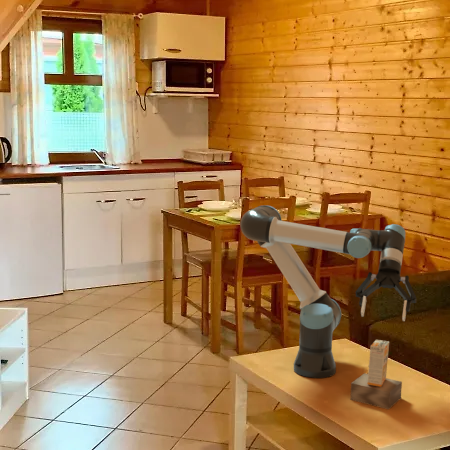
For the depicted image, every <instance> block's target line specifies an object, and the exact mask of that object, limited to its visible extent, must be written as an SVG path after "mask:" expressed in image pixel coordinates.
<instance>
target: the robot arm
mask: <svg viewBox="0 0 450 450" xmlns="http://www.w3.org/2000/svg"><path fill="white" fill-rule="evenodd" d="M281 216H282V215H281V213H280V212H279V211H278V210H277V209H276V208H275V207H274V206H271V205H258V206H257V207H255V208H252V209H250V210H248V211H246V212H245V213H244V214H242V217H241V219H240V225H239V226H240V227H239V228H240V230H241V233H242V234H243V235H244V236H245V237H246V238H247V240H248V239H249V240H251V241H255V242H257V244H258V245H259V247H261V248H263V249H266V250H267V251H268V253H269V255H270V256H271V257H272V260H274V262H275V264H276V266H277V267H278V269H279V270H280V272H281V273H282V275H283V277H284V278H285V279H286V281H287V283H288V285H289V286H290V288H291V289H292V290H293V292H294V294H295V295H296V297H297V299H298V300H299V302H300V304H299V305H300V306H299V309H300V314H299V336H298V337H299V340H298V343H299V345H298V351H297V353H296V356H295V359H294V362H293V372H295V373H296V374H297V375H300V376H302V377H307V378H312V379H313V378H314V379H315V378H316V379H318V378H319V379H322V378H329V377H332V376H334V375H335V374H336V369H337V366H336V361H335V359H334V354H333V350H332V348H333V332H334V330H335V329H336V328H337V327H338V326H339V324H340V322H341V319H342V318H341V317H342V310H341V307H340V304H339V303H337V301H336V300H334V299H332V298H331V297H330V296H329V294H328V293H327V291H326V290H322V289H320V287H319V286H318V284H317V283H316V282H315V279H313V277H312V275H311V273H310V272H309V271H308V269H307V268H306V265H305V264H304V263H303V261H302V260H301V258H300V257H299V255H298V253H297V252H296V250H295V249H294V247H293V246H292V245H297V246H303V247H307V248H312V249H313V248H314V249H318V250H324V251H329V252H336V253H342V254H346V255H350V256H351V257H353V258H356V259H362V258H364V257H366V256H368V255H369V253H371V251H374V252H375V251H376V252H380V257H379V258H380V259H379V264H378V269H377V270H378V272H377V274H374V273H372V272H371V271H369V272H368V274H367V277H366V278H365V279H364V280H363V282H362V283H360V285H359V287H357V289H356V290H355V297H356V298H359V302H358V305H359V307H360V308H361V309H360V316H361V317H364V316H365V310H366V304H367V297H369V296H370V295H371V294H372V293H373V292H375V291H376V290H379V289H380V288H381V287H382V289H387V288H388V289H393V288H394V289H395V291H396V292H397V293H398V294H399V295H400V296H401V297H402V299H403V300H404V301H403V309H402V317H401V319H402V322H405V321H406V315H407V313H409V312H410V310H411V304H416V303H417V295H416V294H415V291H414V290H413V287H412V286H411V283H410V280H409V279H410V278H409V275H405V276H401V272H402V271H401V270H402V265H403V264H402V263H403V255H404V249H405V244H406V230H405V228H404V227H403V226H402V225H399V224H394V223H392V224H389V225H386V226H385V228H384V229H383V230H382V229H381V230H379V229H377V230H376V229H369V228H368V229H367V228H361V227H359V228H352V229H350V231H349V232H348V231H344V230H343V231H342V230H338V229H337V230H336V229H332V228H326V227H320V226H313V225H307V224H303V223H296V222H290V221H284V220H282V217H281ZM374 280H375V281H374ZM373 281H374V283H372V282H373ZM400 282H402V283H403V284H404V285H405V288H406V290H407V292H408V293H407V292H406V291H405V290H404V289H403V287H401V284H400ZM371 283H372V284H371ZM368 286H369V287H368ZM408 294H409V295H408Z"/></svg>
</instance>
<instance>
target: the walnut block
mask: <svg viewBox="0 0 450 450" xmlns="http://www.w3.org/2000/svg"><path fill="white" fill-rule="evenodd" d="M367 383H368V373H363V374H362V375H360V376H359V377H357V378H356V379H355V380H353V381H351V383H350V401H354V402H356V403H357V402H359V403H362V404H365V405H370V406H374V407H378V408H381V409H386V410H390V409H391V408H392V407H393V406H394V405H395V404H397V402H399V400H401V399H402V387H403V386H402V384H403V381H400V380H396V379H391V378H387V377H386V379H385V381H384V382H383V384H382V386H381V387H378V386H373V385H368V384H367Z"/></svg>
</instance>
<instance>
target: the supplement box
mask: <svg viewBox="0 0 450 450" xmlns="http://www.w3.org/2000/svg"><path fill="white" fill-rule="evenodd" d="M389 348H390V341H389V340H388V341H387V340H381V339H375V340H374V341H373V342H372V344H370V349H369V360H368V361H369V362H368V372H367V374H368V383H367V384H368V385H373V386H378V387H381V386H382V384H383V382H384V381H385V379H386V378H387V370H388V359H389Z"/></svg>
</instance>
